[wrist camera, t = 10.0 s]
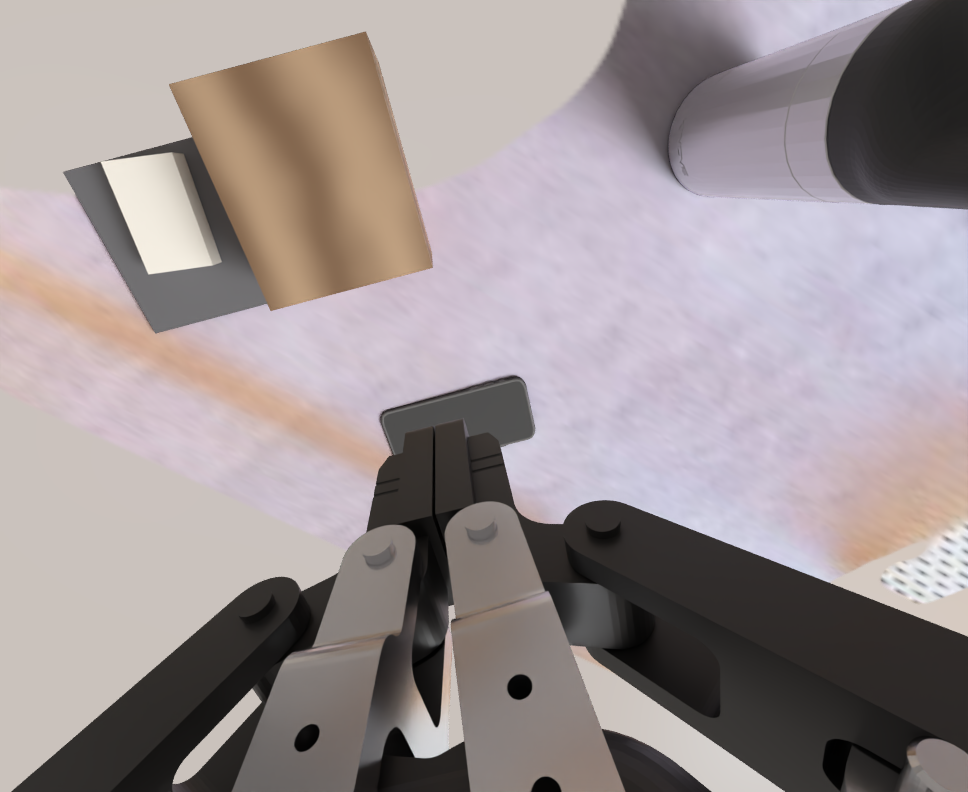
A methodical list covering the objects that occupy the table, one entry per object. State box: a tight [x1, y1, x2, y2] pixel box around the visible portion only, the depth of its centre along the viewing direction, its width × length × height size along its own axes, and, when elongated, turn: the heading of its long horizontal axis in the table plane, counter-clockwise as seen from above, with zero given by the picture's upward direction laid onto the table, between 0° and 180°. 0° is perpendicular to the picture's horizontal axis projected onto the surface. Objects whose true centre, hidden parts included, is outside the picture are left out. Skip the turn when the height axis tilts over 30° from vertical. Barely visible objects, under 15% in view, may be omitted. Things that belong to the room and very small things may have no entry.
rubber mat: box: [64, 137, 267, 333], centre depth 38 cm, size 13×13×1 cm
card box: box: [101, 152, 222, 275], centre depth 36 cm, size 5×8×2 cm, turn 7°
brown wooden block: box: [169, 32, 433, 311], centre depth 34 cm, size 12×14×8 cm
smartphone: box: [381, 377, 535, 455], centre depth 48 cm, size 7×1×15 cm
